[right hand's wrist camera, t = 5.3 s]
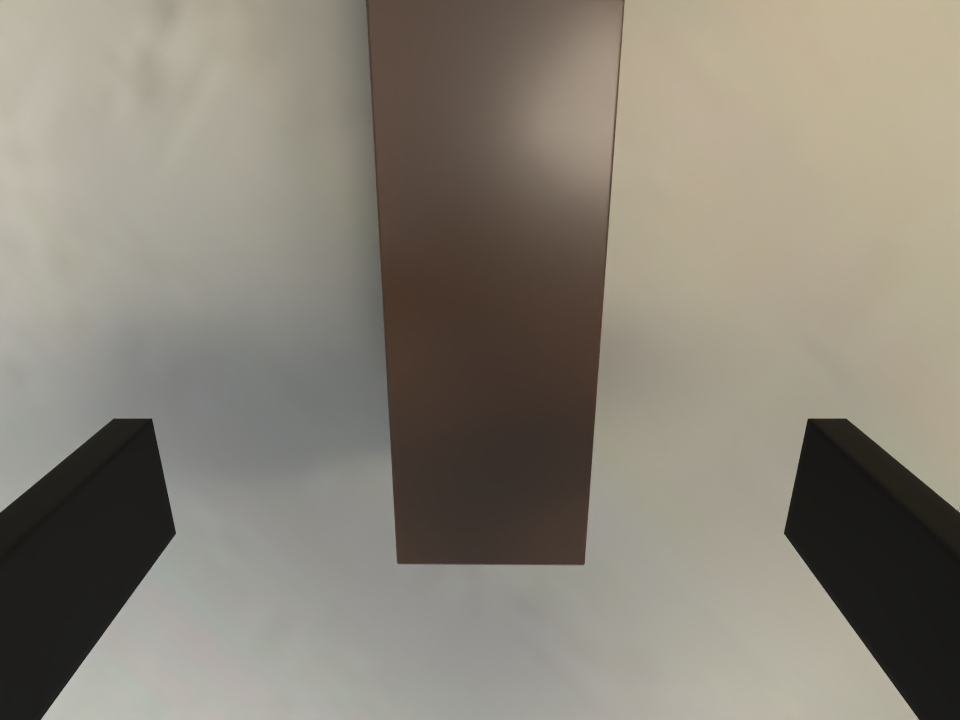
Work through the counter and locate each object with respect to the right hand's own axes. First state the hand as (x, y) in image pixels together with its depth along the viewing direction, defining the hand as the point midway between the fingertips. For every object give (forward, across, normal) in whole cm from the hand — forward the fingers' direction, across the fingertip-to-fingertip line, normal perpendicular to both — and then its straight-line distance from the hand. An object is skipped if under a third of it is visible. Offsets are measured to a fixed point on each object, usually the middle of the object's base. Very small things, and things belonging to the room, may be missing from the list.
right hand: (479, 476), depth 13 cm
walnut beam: (+11, 0, -12) cm, 16 cm away
